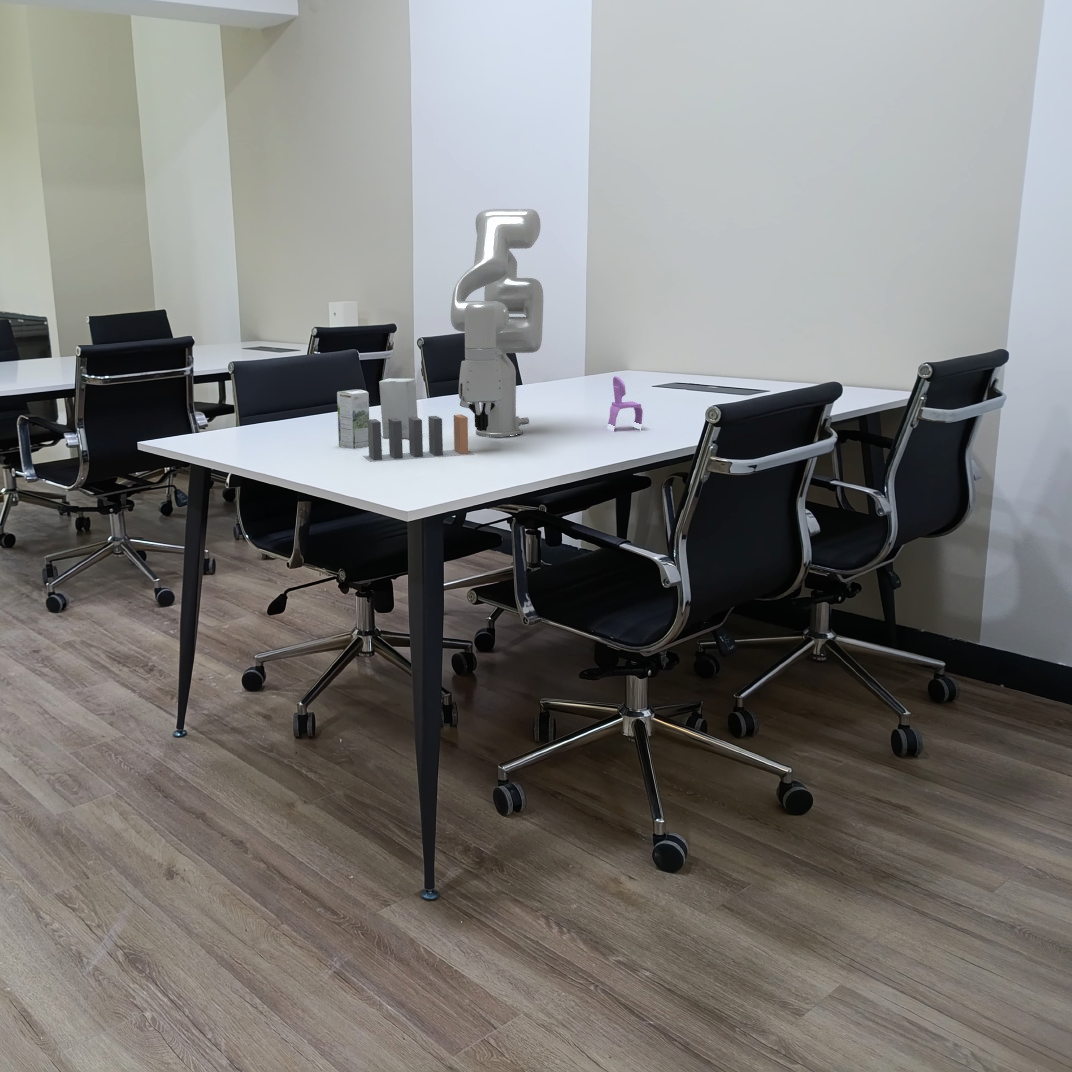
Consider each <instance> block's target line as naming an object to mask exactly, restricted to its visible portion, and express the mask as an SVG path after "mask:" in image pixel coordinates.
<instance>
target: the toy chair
mask: <svg viewBox="0 0 1072 1072" xmlns="http://www.w3.org/2000/svg"><path fill="white" fill-rule="evenodd" d="M612 386H613V396H614V401H612V402H611V406H610V408H609V418H608V423H607V424H611V425H613V426H615V427H616V423H617V418H618V414H619V412H620V410H623V409H629V408H630V409H633V410H634V421H633V423H634V422H636V423H639V424H642V425H643V415H644V414H643V413H644V412H643V411H644V410H643V407H642V404H641V403H638V402H635V401H623V397H624V396H626V395H627V393H626V385H625V383H624V380H622V379H621V378H620V376H613V379H612Z"/></svg>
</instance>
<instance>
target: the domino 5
mask: <svg viewBox="0 0 1072 1072" xmlns="http://www.w3.org/2000/svg"><path fill="white" fill-rule="evenodd" d="M468 420H469V417H468V416H465V415H464V414H453V447H454V449H453V450H454V451H455V452H457V453H459V454H468V451H469V424H468V423H469V421H468Z"/></svg>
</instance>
